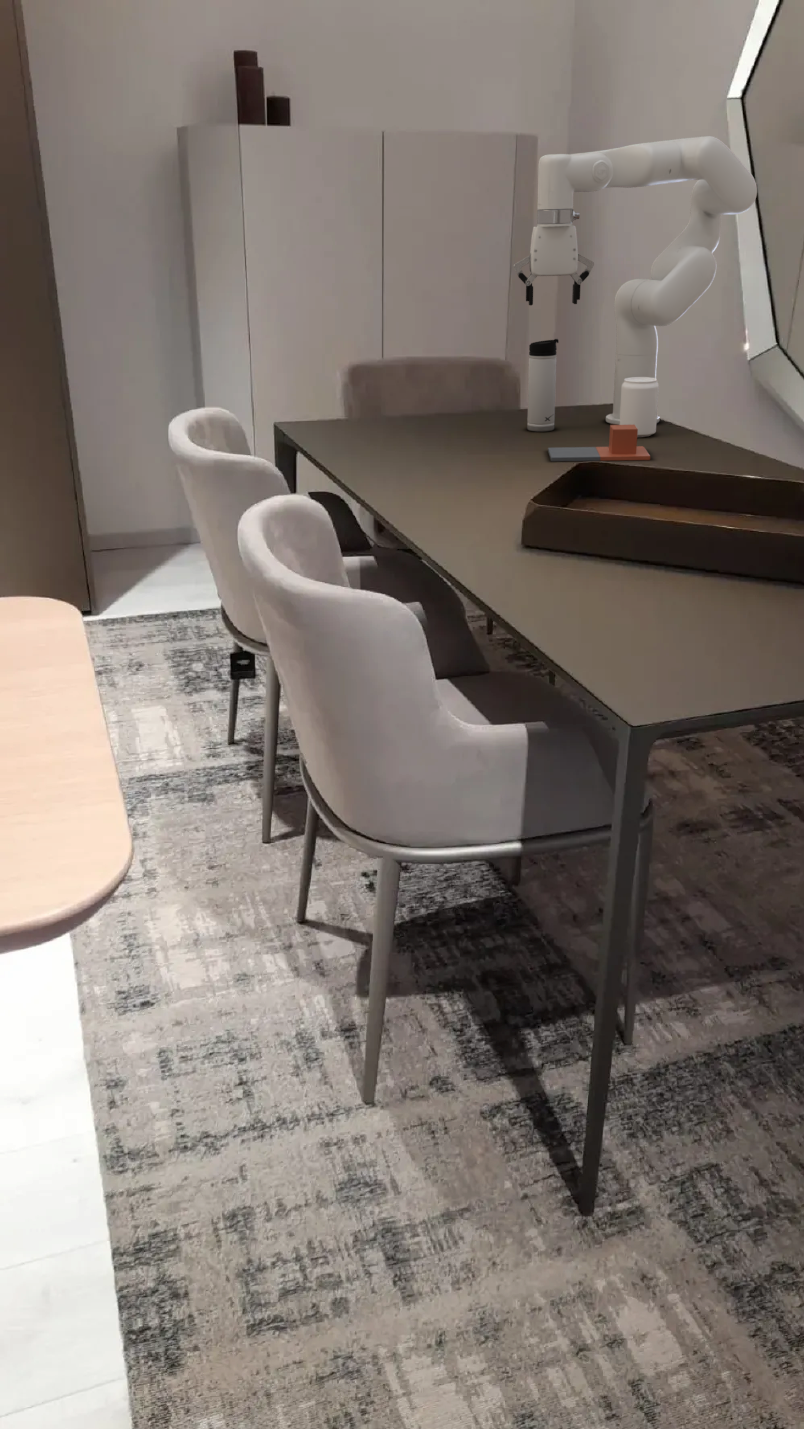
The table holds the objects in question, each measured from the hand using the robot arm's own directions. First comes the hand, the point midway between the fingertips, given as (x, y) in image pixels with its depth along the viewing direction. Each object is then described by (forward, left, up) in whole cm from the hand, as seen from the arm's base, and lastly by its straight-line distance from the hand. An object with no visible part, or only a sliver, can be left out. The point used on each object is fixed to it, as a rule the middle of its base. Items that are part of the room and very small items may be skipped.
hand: (552, 304), depth 242 cm
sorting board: (+27, +8, -28) cm, 40 cm away
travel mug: (-3, -2, -28) cm, 28 cm away
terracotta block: (+27, +13, -27) cm, 40 cm away
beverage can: (+5, +19, -28) cm, 34 cm away
